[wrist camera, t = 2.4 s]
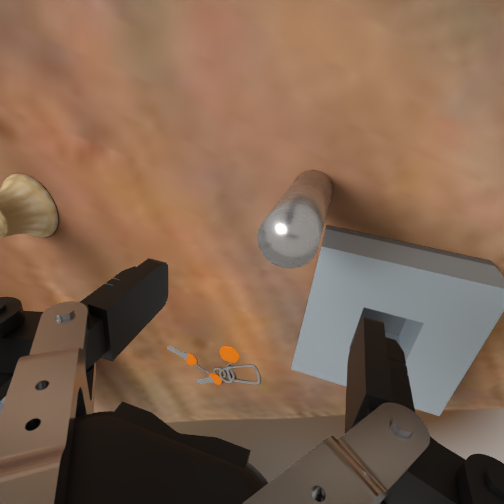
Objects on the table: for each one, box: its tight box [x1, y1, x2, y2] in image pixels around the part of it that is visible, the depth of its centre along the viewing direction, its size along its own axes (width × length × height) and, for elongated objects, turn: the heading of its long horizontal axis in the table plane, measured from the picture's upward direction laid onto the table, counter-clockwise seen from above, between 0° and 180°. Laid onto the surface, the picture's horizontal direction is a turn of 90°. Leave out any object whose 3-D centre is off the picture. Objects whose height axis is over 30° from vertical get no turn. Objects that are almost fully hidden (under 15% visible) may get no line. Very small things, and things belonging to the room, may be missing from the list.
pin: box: [258, 170, 333, 268], centre depth 24 cm, size 4×4×12 cm
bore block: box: [291, 225, 504, 416], centre depth 30 cm, size 14×14×5 cm
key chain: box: [167, 346, 261, 385], centre depth 43 cm, size 13×7×1 cm, turn 103°
